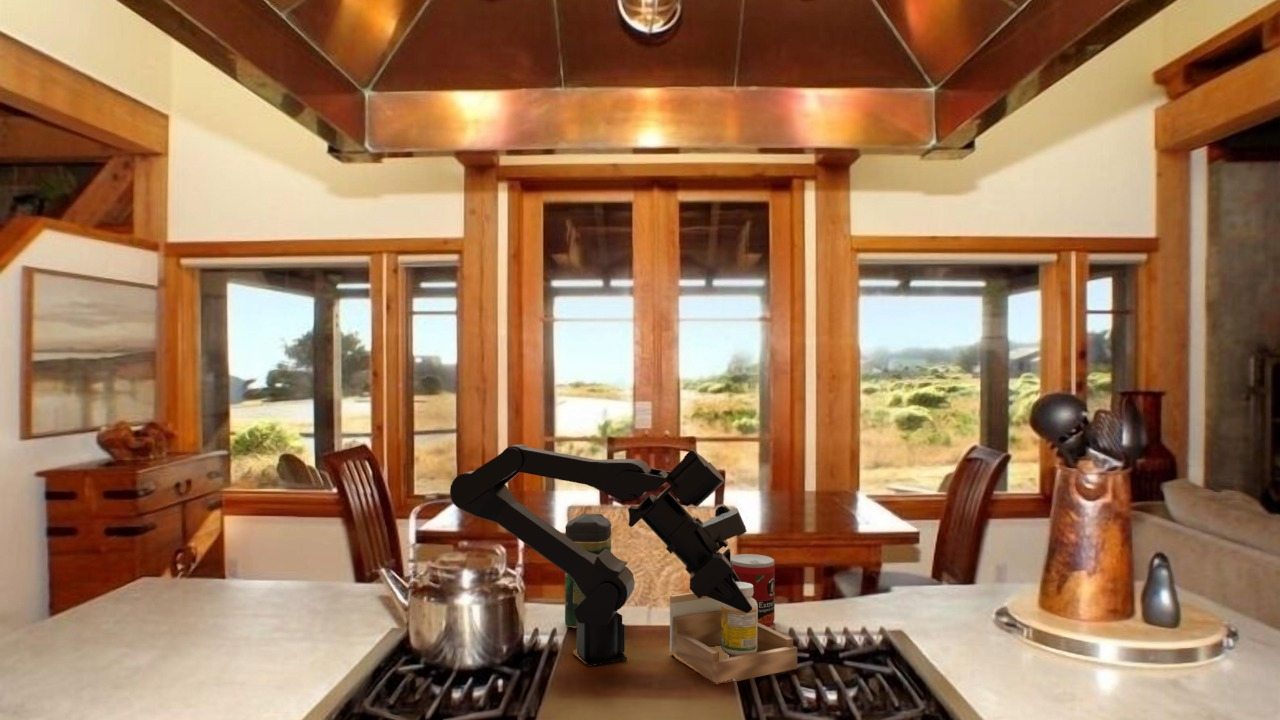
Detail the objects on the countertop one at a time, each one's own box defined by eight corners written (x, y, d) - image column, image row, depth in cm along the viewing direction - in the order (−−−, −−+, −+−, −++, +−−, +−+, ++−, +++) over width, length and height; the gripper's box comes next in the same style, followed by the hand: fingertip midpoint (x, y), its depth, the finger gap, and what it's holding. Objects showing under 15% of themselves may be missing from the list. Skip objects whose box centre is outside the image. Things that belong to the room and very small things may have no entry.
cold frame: (716, 685, 104) (716, 641, 104) (673, 657, 115) (673, 617, 115) (797, 668, 110) (797, 626, 111) (749, 643, 121) (749, 605, 121)
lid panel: (671, 656, 115) (671, 596, 115) (669, 655, 116) (669, 595, 116) (747, 642, 122) (747, 586, 122) (745, 641, 122) (745, 585, 122)
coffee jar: (569, 614, 136) (570, 510, 137) (613, 615, 136) (614, 511, 136) (560, 631, 127) (561, 519, 127) (607, 633, 126) (608, 520, 127)
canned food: (761, 632, 127) (761, 566, 127) (720, 623, 132) (720, 559, 132) (782, 621, 133) (782, 558, 133) (742, 612, 138) (742, 551, 138)
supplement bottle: (752, 658, 108) (753, 591, 109) (716, 653, 110) (717, 587, 111) (761, 647, 114) (761, 582, 114) (726, 642, 115) (726, 578, 116)
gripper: (715, 499, 104) (796, 584, 103) (713, 482, 122) (782, 554, 121) (657, 555, 104) (736, 640, 103) (664, 529, 123) (731, 601, 122)
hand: (748, 605), depth 112 cm, fingers closed on supplement bottle, 5 cm apart
